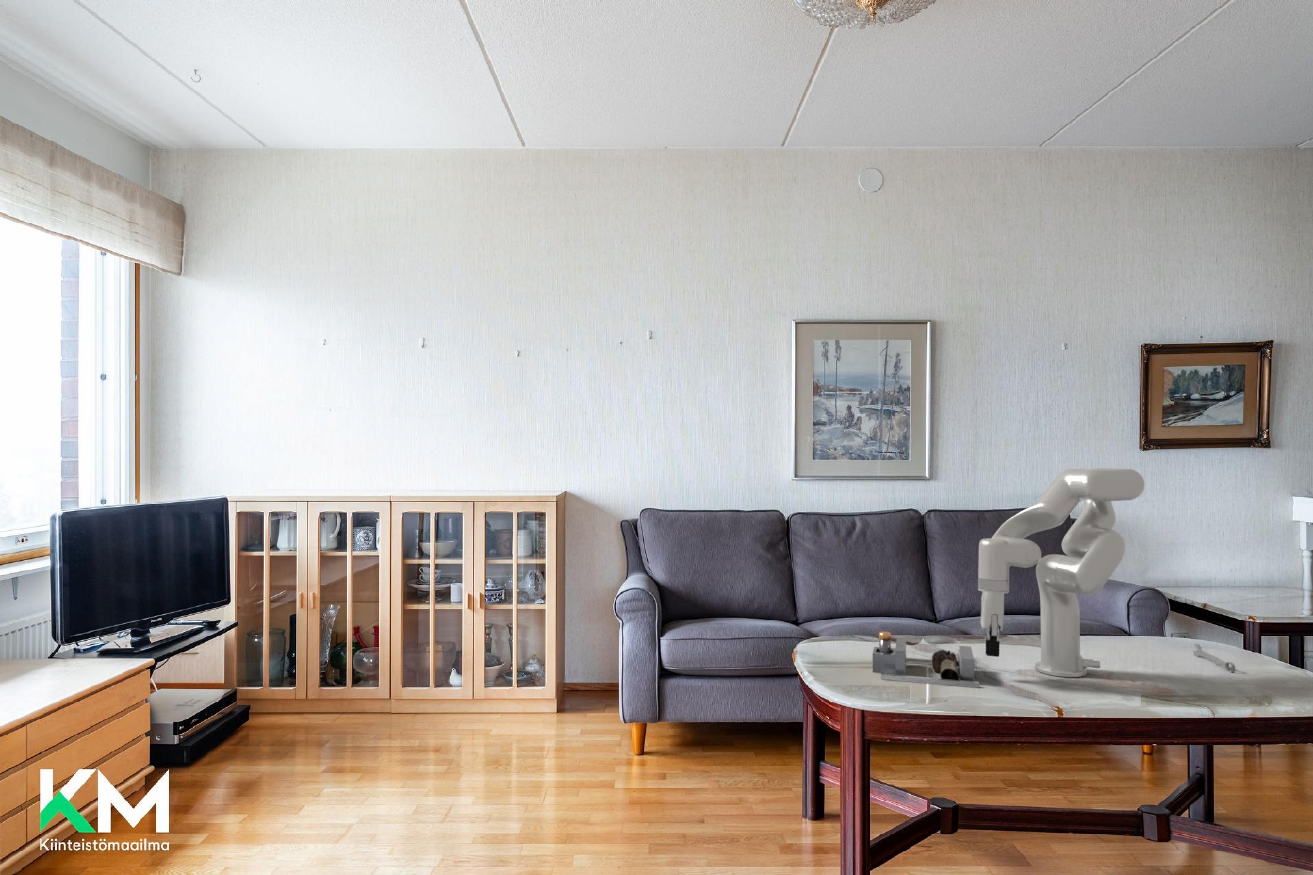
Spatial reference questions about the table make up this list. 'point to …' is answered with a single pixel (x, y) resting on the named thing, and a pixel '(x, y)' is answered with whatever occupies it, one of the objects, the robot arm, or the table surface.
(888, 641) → the grey cylinder orange cap
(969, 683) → the grey flat plate
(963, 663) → the block
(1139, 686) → the table surface
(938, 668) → the brown wood log
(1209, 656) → the combination wrench
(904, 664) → the tailstock
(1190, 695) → the table surface
